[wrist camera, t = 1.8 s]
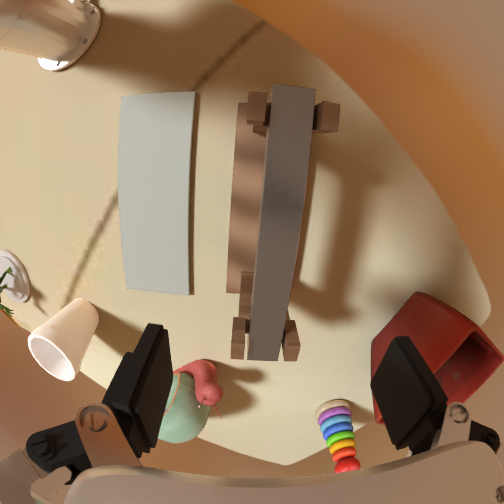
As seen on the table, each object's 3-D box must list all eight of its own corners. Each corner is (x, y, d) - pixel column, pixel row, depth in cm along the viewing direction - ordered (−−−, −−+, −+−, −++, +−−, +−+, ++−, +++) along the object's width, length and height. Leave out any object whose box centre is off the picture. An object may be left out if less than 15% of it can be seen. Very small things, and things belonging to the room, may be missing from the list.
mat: (124, 97, 29) (121, 96, 28) (196, 92, 29) (194, 91, 28) (128, 286, 39) (127, 288, 38) (189, 292, 39) (188, 295, 39)
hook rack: (239, 104, 30) (229, 70, 15) (311, 112, 30) (359, 89, 15) (227, 287, 39) (215, 368, 24) (288, 291, 39) (307, 371, 25)
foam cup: (70, 280, 39) (28, 322, 27) (112, 309, 41) (78, 360, 29) (62, 315, 42) (28, 357, 30) (100, 341, 44) (71, 388, 32)
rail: (270, 91, 19) (273, 83, 16) (307, 96, 19) (315, 89, 16) (247, 340, 28) (247, 359, 25) (275, 341, 28) (277, 361, 25)
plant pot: (344, 349, 44) (373, 424, 29) (416, 265, 38) (477, 324, 23) (401, 373, 48) (430, 431, 33) (460, 308, 42) (506, 358, 27)
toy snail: (161, 408, 52) (149, 457, 39) (134, 391, 49) (116, 440, 37) (239, 363, 45) (237, 427, 32) (207, 339, 43) (195, 405, 30)
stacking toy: (309, 417, 53) (321, 486, 35) (322, 398, 50) (338, 473, 32) (340, 416, 53) (356, 481, 36) (354, 397, 50) (376, 466, 33)
